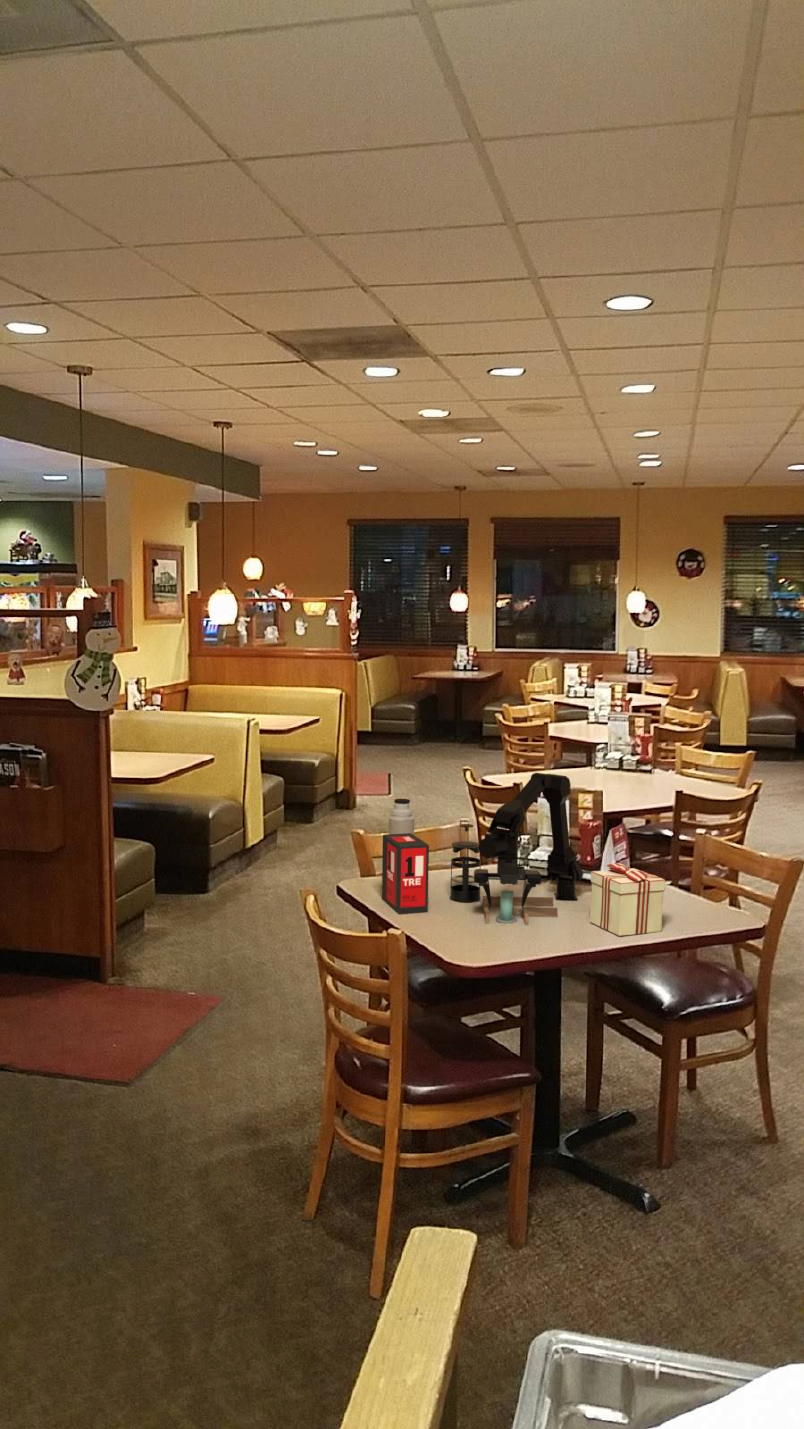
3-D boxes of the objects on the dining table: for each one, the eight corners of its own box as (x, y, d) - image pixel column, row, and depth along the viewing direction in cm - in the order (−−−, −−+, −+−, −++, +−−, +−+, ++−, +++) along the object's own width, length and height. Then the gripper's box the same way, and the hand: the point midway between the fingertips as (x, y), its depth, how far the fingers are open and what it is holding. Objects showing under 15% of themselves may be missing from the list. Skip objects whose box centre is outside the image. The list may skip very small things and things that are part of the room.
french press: (480, 904, 330) (482, 828, 327) (449, 903, 330) (451, 827, 328) (480, 893, 342) (481, 820, 339) (449, 892, 342) (451, 819, 339)
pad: (494, 916, 317) (495, 915, 317) (515, 917, 317) (515, 916, 317) (496, 922, 311) (496, 921, 311) (517, 923, 311) (517, 922, 311)
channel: (482, 904, 330) (482, 895, 330) (552, 905, 329) (552, 897, 329) (485, 923, 310) (485, 915, 310) (560, 925, 309) (560, 916, 309)
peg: (499, 917, 316) (500, 889, 315) (511, 917, 315) (512, 890, 315) (500, 920, 312) (501, 893, 311) (512, 920, 312) (513, 893, 311)
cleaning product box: (427, 912, 320) (429, 844, 318) (398, 914, 318) (399, 846, 316) (409, 897, 336) (410, 833, 334) (381, 899, 333) (382, 834, 331)
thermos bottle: (382, 885, 349) (384, 798, 346) (402, 881, 354) (403, 796, 351) (398, 891, 343) (400, 802, 340) (418, 887, 348) (419, 799, 345)
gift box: (673, 930, 307) (676, 869, 305) (622, 939, 298) (624, 876, 296) (633, 914, 322) (635, 856, 320) (582, 922, 313) (584, 863, 311)
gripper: (476, 858, 304) (474, 913, 306) (543, 859, 303) (542, 915, 305) (474, 849, 315) (473, 902, 317) (539, 850, 315) (538, 903, 316)
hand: (506, 906), depth 313 cm, fingers open, 9 cm apart
